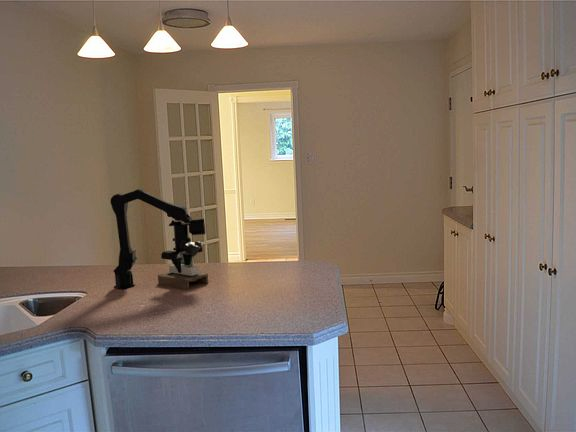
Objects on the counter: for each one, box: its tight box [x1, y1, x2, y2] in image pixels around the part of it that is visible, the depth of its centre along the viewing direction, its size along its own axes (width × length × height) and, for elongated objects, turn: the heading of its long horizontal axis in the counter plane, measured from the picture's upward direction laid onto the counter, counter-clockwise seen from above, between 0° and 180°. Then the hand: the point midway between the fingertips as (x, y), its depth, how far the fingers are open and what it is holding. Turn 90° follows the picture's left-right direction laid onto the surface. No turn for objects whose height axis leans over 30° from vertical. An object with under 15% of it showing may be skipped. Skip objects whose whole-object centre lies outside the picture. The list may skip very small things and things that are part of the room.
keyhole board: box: [157, 271, 209, 290], centre depth 223 cm, size 12×18×4 cm, turn 54°
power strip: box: [168, 264, 200, 283], centre depth 223 cm, size 4×14×7 cm, turn 54°
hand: (183, 271), depth 223 cm, fingers closed on power strip, 4 cm apart
